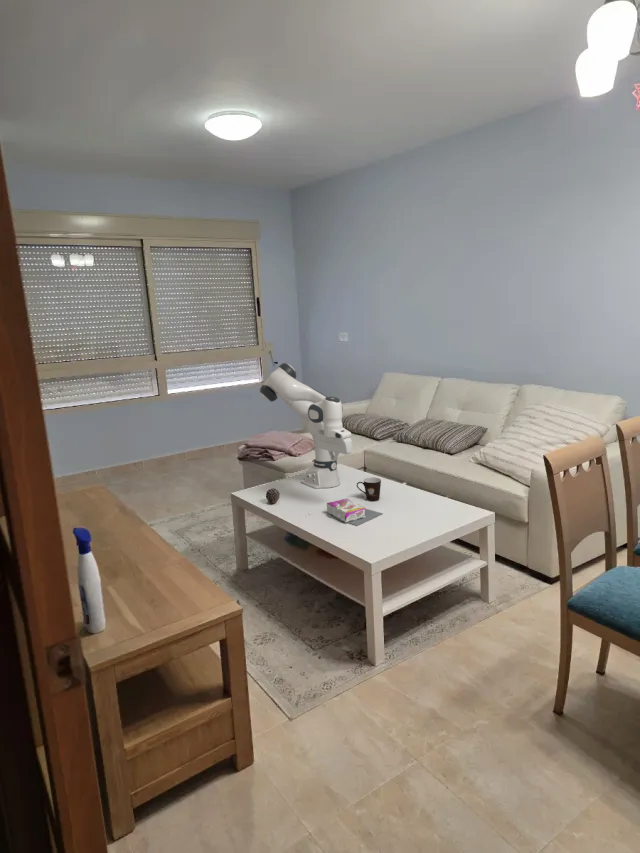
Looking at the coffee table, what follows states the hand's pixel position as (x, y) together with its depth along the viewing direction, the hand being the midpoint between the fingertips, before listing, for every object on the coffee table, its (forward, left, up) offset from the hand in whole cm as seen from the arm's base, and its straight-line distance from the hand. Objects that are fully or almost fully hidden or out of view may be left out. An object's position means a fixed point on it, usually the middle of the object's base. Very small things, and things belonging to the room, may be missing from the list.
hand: (334, 460), depth 269 cm
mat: (+15, -3, -23) cm, 28 cm away
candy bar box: (+4, -4, -20) cm, 21 cm away
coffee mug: (+6, +19, -24) cm, 31 cm away
